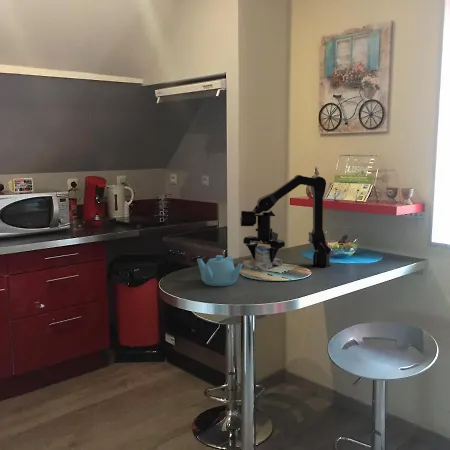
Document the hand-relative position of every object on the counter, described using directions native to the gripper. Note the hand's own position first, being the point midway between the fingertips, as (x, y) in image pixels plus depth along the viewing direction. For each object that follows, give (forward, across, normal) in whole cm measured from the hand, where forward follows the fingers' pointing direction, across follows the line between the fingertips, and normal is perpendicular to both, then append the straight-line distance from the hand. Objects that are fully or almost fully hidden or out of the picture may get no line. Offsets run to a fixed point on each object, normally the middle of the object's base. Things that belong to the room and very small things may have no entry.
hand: (263, 261), depth 228 cm
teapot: (+3, -3, +34) cm, 34 cm away
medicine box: (+3, 0, 0) cm, 3 cm away
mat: (+2, -10, 0) cm, 10 cm away
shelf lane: (+2, +1, 0) cm, 3 cm away
